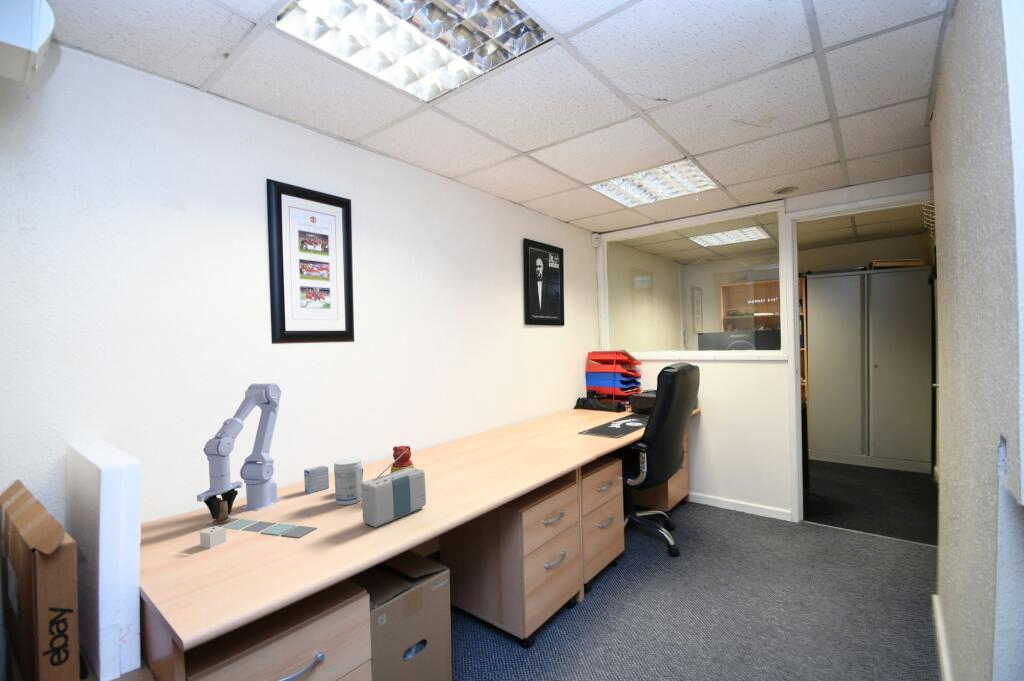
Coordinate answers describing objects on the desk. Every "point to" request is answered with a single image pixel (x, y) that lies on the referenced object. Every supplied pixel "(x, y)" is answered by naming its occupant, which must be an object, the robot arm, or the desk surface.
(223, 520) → the pawn
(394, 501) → the stereo radio cassette player
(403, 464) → the stacking bear
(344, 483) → the supplement tub
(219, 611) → the desk surface
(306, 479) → the medicine box
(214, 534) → the die
